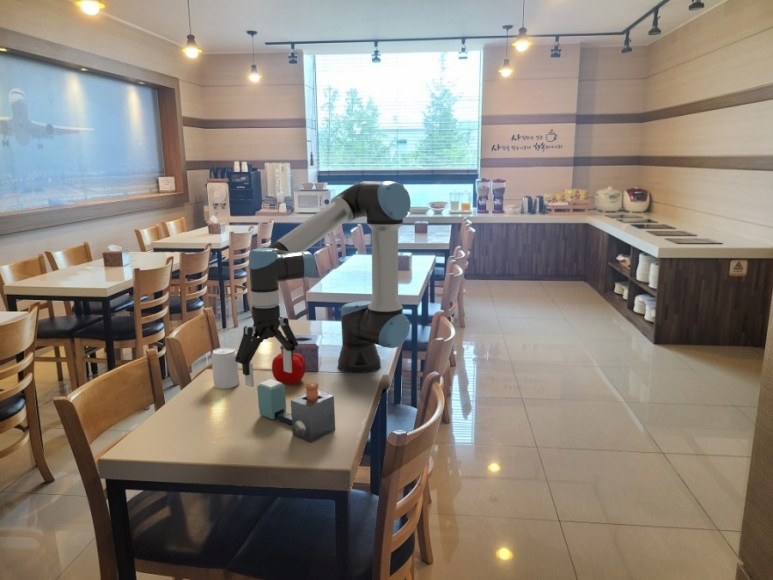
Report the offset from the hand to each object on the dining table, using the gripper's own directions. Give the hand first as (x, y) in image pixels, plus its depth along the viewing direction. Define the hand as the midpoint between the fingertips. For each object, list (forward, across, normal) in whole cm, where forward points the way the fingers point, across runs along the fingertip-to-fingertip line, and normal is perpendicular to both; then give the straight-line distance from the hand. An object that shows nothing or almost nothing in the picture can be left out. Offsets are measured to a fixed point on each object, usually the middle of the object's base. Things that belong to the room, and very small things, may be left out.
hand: (269, 378), depth 158 cm
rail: (+12, 0, +5) cm, 13 cm away
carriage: (+12, 0, 0) cm, 12 cm away
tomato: (+12, -21, -16) cm, 29 cm away
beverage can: (+12, -7, -31) cm, 34 cm away
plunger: (+3, 0, +17) cm, 17 cm away
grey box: (+12, 0, +17) cm, 21 cm away
